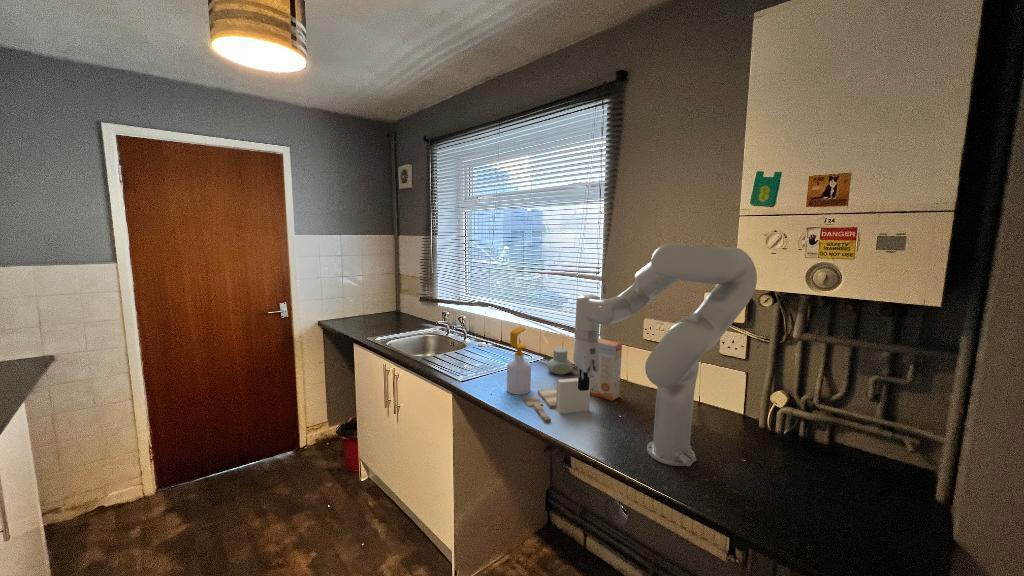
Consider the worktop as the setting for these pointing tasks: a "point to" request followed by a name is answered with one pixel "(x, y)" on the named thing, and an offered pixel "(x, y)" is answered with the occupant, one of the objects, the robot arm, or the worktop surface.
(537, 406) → the wooden turner
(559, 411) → the ceramic tile
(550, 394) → the cork board
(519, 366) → the soap bottle
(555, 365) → the air freshener
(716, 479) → the worktop surface
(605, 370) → the cracker box
